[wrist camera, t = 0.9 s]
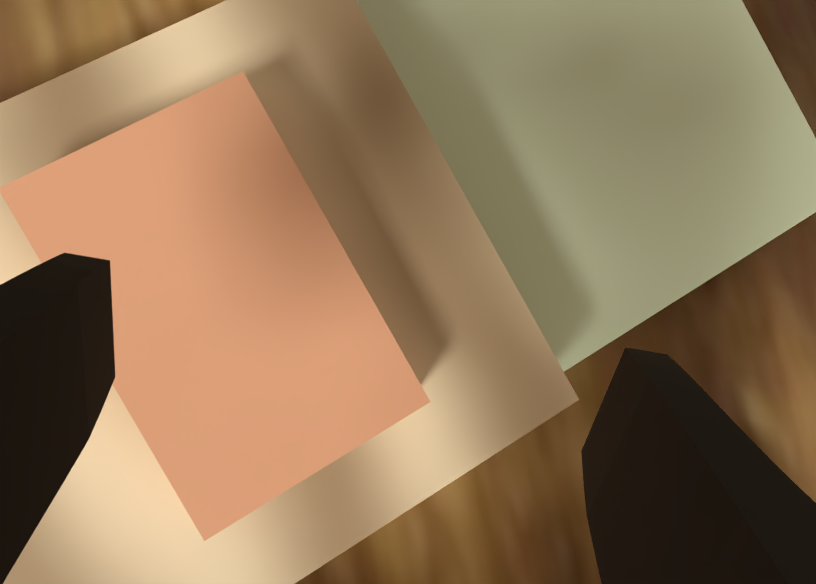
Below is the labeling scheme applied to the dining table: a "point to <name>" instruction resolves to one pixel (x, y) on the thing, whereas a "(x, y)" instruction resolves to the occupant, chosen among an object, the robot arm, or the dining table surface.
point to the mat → (606, 145)
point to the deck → (368, 252)
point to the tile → (223, 300)
